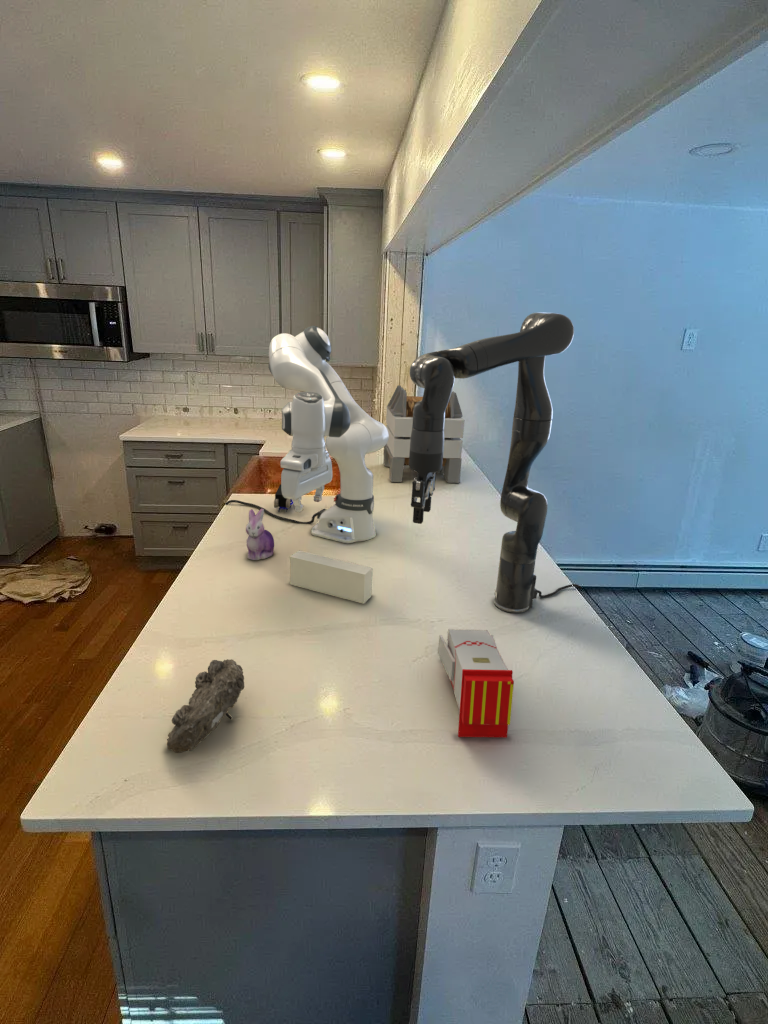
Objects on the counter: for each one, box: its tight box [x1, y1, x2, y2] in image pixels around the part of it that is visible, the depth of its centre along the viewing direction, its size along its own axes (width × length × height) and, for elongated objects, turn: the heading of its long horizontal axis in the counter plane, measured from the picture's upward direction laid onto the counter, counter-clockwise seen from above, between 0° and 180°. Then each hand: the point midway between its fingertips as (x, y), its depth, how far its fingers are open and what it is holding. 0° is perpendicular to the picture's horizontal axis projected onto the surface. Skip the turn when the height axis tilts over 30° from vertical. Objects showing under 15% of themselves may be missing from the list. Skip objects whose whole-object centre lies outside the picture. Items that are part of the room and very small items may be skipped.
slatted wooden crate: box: [383, 384, 465, 484], centre depth 268 cm, size 34×33×41 cm
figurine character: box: [273, 483, 294, 513], centre depth 219 cm, size 7×8×15 cm
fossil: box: [166, 658, 245, 754], centre depth 106 cm, size 22×10×15 cm
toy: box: [437, 628, 515, 738], centre depth 117 cm, size 12×13×30 cm
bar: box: [289, 549, 374, 605], centre depth 157 cm, size 23×5×9 cm, turn 66°
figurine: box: [245, 507, 275, 561], centre depth 176 cm, size 9×10×15 cm
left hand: (308, 506), depth 153 cm, fingers open, 8 cm apart
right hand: (421, 516), depth 131 cm, fingers open, 8 cm apart
